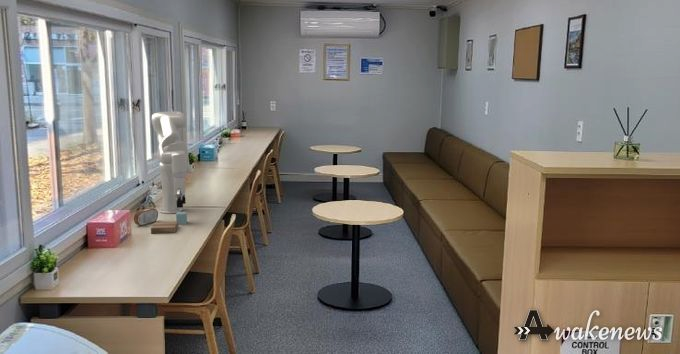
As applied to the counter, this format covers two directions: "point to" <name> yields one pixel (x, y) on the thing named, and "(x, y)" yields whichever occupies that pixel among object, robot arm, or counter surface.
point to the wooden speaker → (146, 216)
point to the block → (181, 218)
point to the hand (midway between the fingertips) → (181, 205)
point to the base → (164, 227)
